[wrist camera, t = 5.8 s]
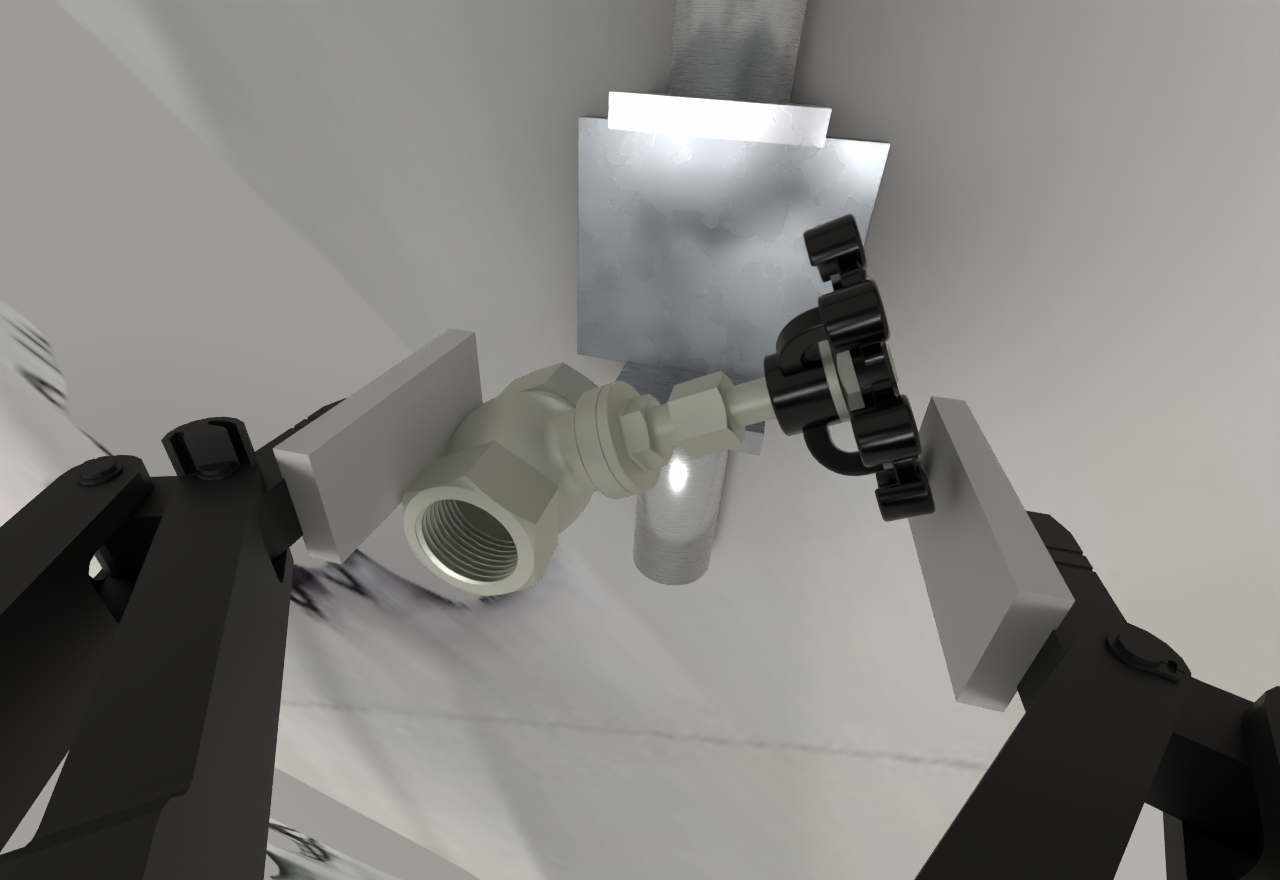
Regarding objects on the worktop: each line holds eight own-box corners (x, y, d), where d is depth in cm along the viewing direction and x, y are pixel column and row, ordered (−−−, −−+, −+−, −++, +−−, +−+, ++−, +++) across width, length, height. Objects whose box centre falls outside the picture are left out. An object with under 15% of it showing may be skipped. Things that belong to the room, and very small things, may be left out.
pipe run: (589, -279, 21) (517, -409, 15) (1000, -292, 19) (1083, -448, 13) (580, 512, 41) (547, 576, 35) (779, 553, 38) (777, 628, 33)
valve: (556, 503, 21) (903, 418, 16) (472, 648, 16) (957, 582, 11) (462, 344, 18) (842, 188, 14) (321, 450, 13) (871, 252, 8)
